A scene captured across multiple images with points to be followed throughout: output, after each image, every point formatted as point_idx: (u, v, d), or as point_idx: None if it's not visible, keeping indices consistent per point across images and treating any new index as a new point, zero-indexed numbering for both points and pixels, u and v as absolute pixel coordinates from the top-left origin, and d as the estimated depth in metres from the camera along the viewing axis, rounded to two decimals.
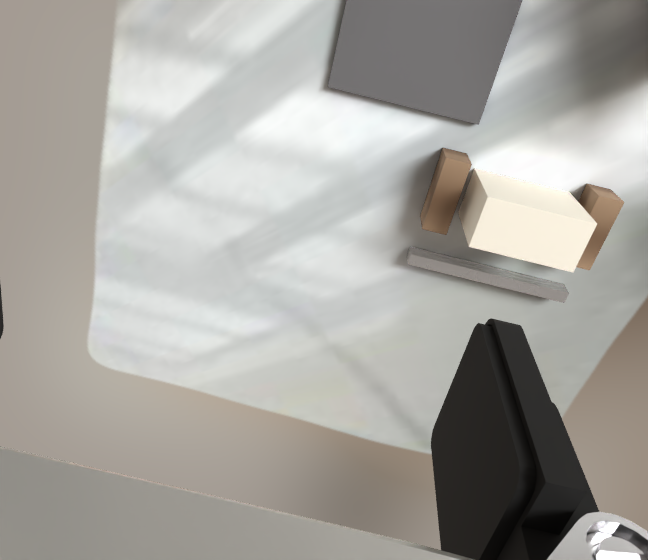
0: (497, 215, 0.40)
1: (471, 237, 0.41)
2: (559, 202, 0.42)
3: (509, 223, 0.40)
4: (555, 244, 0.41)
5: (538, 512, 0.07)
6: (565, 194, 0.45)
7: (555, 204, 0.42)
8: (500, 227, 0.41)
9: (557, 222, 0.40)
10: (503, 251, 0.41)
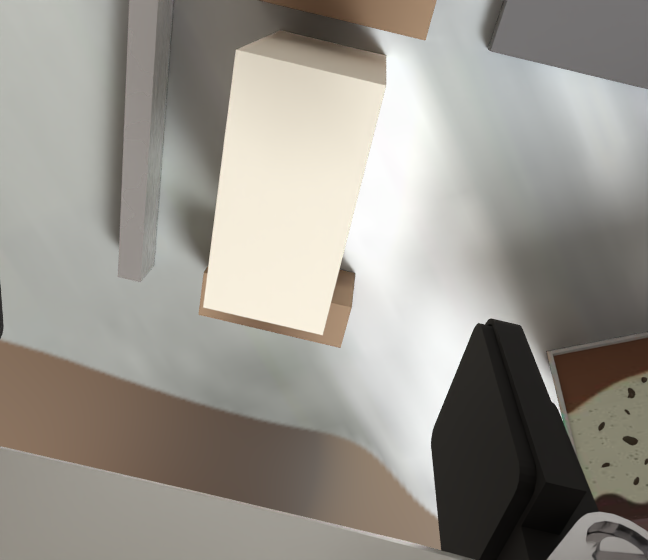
0: (333, 119, 0.15)
1: (264, 56, 0.15)
2: None
3: (312, 151, 0.16)
4: (266, 262, 0.17)
5: (538, 512, 0.07)
6: None
7: None
8: (298, 131, 0.15)
9: (321, 259, 0.17)
10: (233, 147, 0.16)
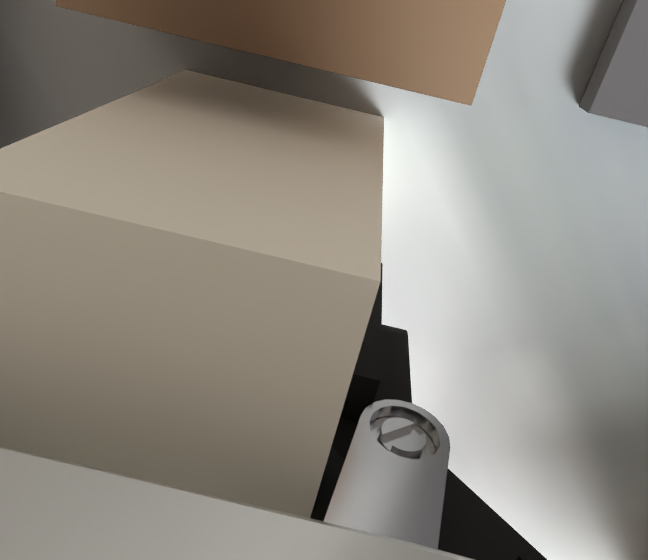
0: (236, 355, 0.05)
1: (25, 192, 0.05)
2: None
3: (187, 421, 0.06)
4: None
5: (344, 402, 0.08)
6: None
7: None
8: (146, 377, 0.06)
9: None
10: None
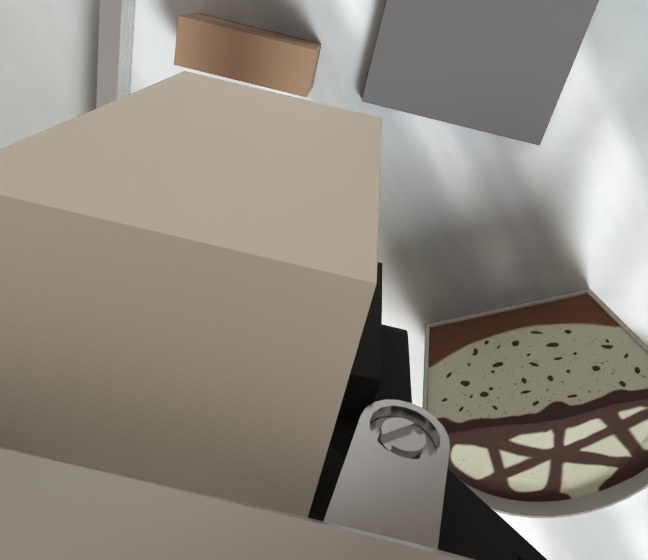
0: (232, 357, 0.06)
1: (22, 194, 0.05)
2: None
3: (186, 423, 0.06)
4: None
5: (344, 402, 0.08)
6: None
7: None
8: (143, 379, 0.06)
9: None
10: None
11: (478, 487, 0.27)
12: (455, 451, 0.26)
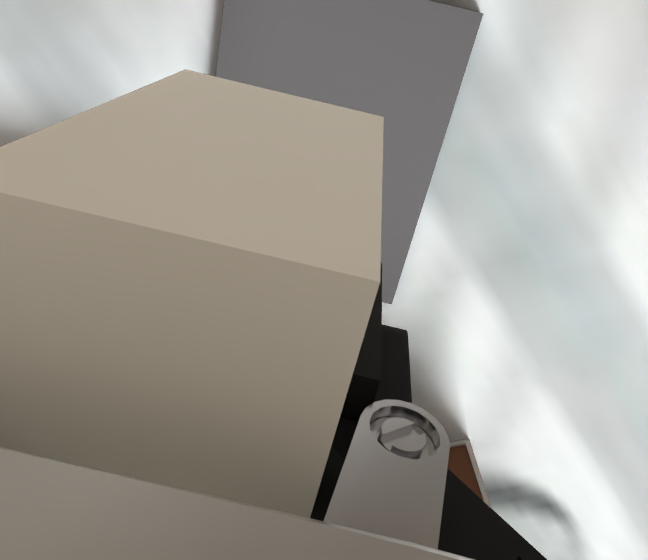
0: (236, 356, 0.05)
1: (23, 192, 0.05)
2: None
3: (185, 423, 0.06)
4: None
5: None
6: None
7: None
8: (144, 379, 0.06)
9: None
10: None
11: None
12: None
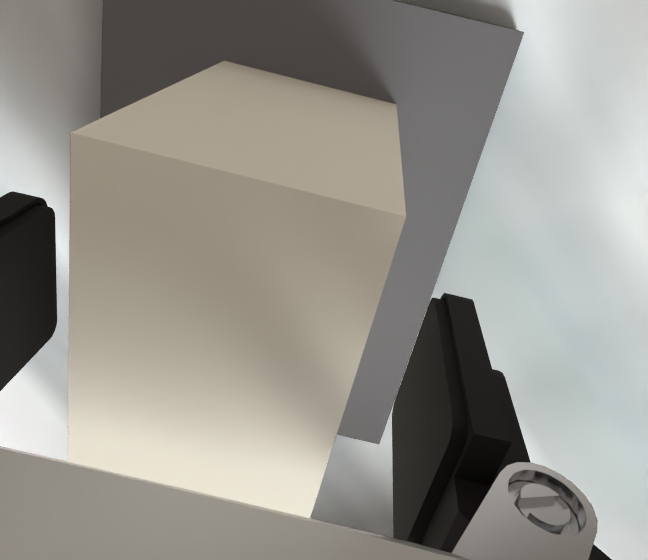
0: (292, 277, 0.07)
1: (137, 145, 0.07)
2: None
3: (249, 333, 0.08)
4: None
5: (469, 463, 0.07)
6: None
7: None
8: (220, 296, 0.07)
9: (273, 508, 0.09)
10: (89, 320, 0.08)
11: None
12: None
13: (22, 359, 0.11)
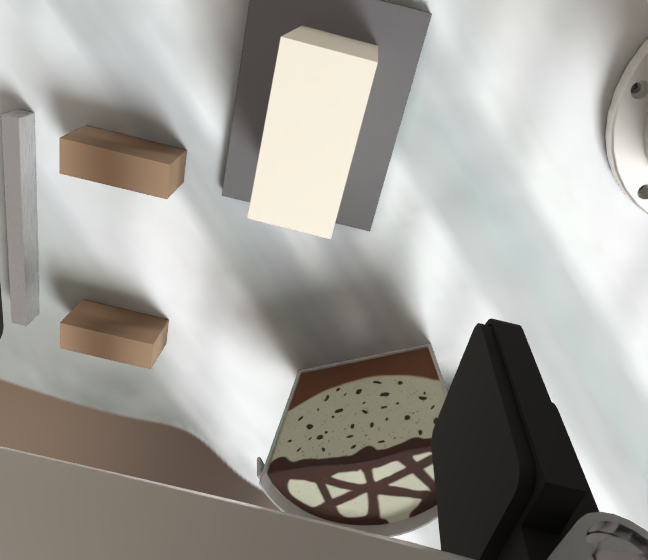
0: (343, 84, 0.23)
1: (299, 41, 0.23)
2: None
3: (328, 105, 0.24)
4: (293, 184, 0.25)
5: (538, 512, 0.07)
6: None
7: None
8: (319, 92, 0.23)
9: (331, 182, 0.25)
10: (275, 102, 0.24)
11: (313, 513, 0.33)
12: (291, 484, 0.32)
13: None
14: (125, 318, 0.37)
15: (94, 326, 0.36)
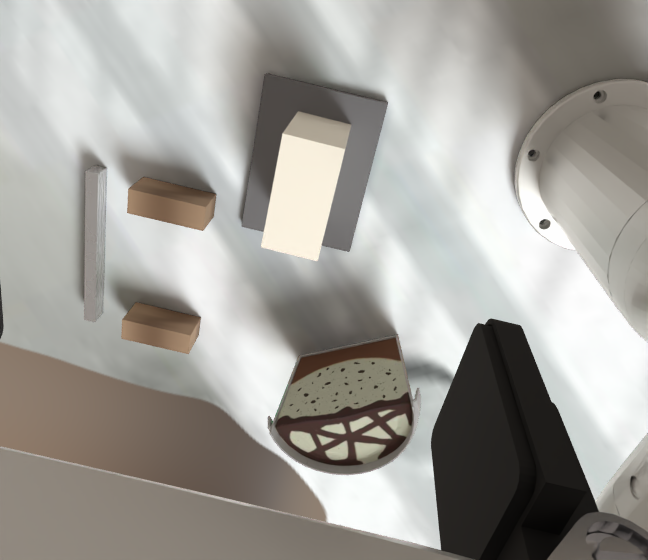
0: (323, 162, 0.35)
1: (294, 135, 0.35)
2: None
3: (313, 175, 0.36)
4: (292, 225, 0.38)
5: (538, 512, 0.07)
6: None
7: None
8: (308, 167, 0.36)
9: (317, 224, 0.37)
10: (279, 173, 0.36)
11: (309, 457, 0.45)
12: (292, 435, 0.44)
13: None
14: (168, 316, 0.50)
15: (147, 322, 0.49)
